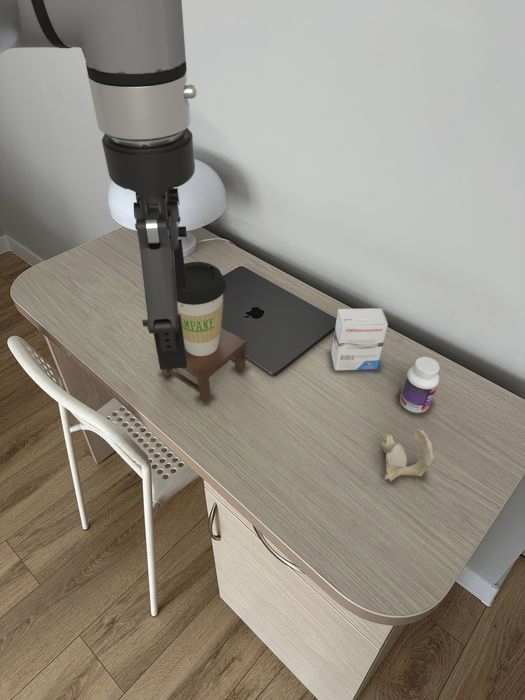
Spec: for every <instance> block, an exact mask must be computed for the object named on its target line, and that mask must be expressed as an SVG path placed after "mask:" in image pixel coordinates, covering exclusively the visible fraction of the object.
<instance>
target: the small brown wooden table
mask: <svg viewBox="0 0 525 700" xmlns="http://www.w3.org/2000/svg"><path fill="white" fill-rule="evenodd" d="M246 348H247V341H246V340H244V339H243V338H241V337H239V336H237V335H236V334H234V333H232V332H230V331H228V330H227V329H225V328H223V327H221V331H220V336H219V346H218V348H217V350H216V351H215V352H213V353H212V354H209V355H206V356H195V355H192V354H190V353H189V352H188V351H187V350H186V349H185V353H186V360H187V368H181V369H182V370H183V371H185V372H187V373H188V374H190V375H191V376H193V378H196V379H197V383H196V382H194V381H193V380H191V379H190V378H188V377H187V376H186V375H184V374H183V373H181V372H179V371H178V370H177V369H162V370H161V372H162V375H164V377H167V378H169V377H170V376H173V377H175V378H176V379H177V380H179V381H181V382H182V383H183V384H185V385H187V386H188V387H190V388H191V389H193V390H195V391H196V392H197V393H198V394H199V399H200V400H201V401H203V402H204V403H206V402H208V401H209V400H211V397H212V396H211V387H210V378H211V377H212V376H213V375H214V374H215V373H217V372H218V371H219V370H220V369H221V368H223V367H224V366H225V365H226V364H228V363H229V362H231V363H234V367H235V370H236V371H238V372H240V373H242V372H243V371H244V370H245V369H246Z"/></svg>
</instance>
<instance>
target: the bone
mask: <svg viewBox="0 0 525 700" xmlns="http://www.w3.org/2000/svg"><path fill="white" fill-rule="evenodd" d="M380 437H381V440H382V441H381V447H382V450H383V452H384V453H385V475H384V480H389V481H390V482H392V481H393V480H394V479H396V478H397V477H400V476H417V477H422V476H423V475H424V474H425V472H426V471H427V470H428V469H429V468H430V466H431V465H432V464H433V461H434V459H435V456H434V445H433V443H432V441H431V440H430V439H429V436H428V434H427V432H425V430H423V429H420V428H417V429H414V430H413V437H414V440H415V442H416V443H417V445H418V446H419V449H420V457H419V458H418V461H417V462H415V463H413V464H410V465H407V462H408V458H407V457H408V456H407V453H406V451H405V449H404V447H403V445H402V444H400V443H399V442H397V441H395V439H394V436H393V435H392V434H390V433H384V434H382V435H381V436H380Z"/></svg>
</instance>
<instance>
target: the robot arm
mask: <svg viewBox="0 0 525 700" xmlns="http://www.w3.org/2000/svg"><path fill="white" fill-rule="evenodd" d="M185 43H186V42H185V29H184V15H183V1H182V0H0V55H1V54H3V53H4V52H5V51H7V50H10V49H20V48H21V49H22V48H28V49H29V48H32V49H33V48H51V49H52V48H55V49H57V48H58V49H71V48H80V49H81V51H82V55H83V57H84V60H85V68H86V72H87V73H86V74H87V79H88V83H89V88H90V93H91V99H92V104H93V109H94V115H95V118H96V124H97V127H98V129H99V131H101V132H102V133H103V136H102V138H101V143H102V149H103V153H104V157H105V163H106V168H107V172H108V177H109V178H110V180H111V181H112V182H113V183H114V184H115V185H116V186H117V187H118V186H119V188H122V189H124V190H129V191H132V192H133V193H135V200H136V201H135V202H133V216H134V219H135V224H134V227H135V230H136V232H137V238H138V244H139V245H138V246H139V250H140V251H139V252H140V261H141V268H142V269H141V271H142V279H143V288H144V297H145V306H146V315H147V316H146V317H147V319H142V320H141V322H142V326H143V327H146V328H147V330H148V333H149V334H153V337H154V343H155V349H156V354H157V359H158V364H159V365H158V366H159V370H161V371H162V369H174V370H177V369H182V368H187V360H186V353H185V345H184V338H183V330H182V323H181V315H180V314H178V305H177V291H176V290H177V289H187V283H186V274H185V266H184V264H185V259H184V258H185V257H184V249H183V239H181V238H187V235H188V234H187V226H180V222H181V221H182V220H181V216H180V203H181V202H180V190H179V187H181V186H183V185H185V184H186V183H187V182H189V181H190V180H191V179H192V178H193V177H194V174H195V172H196V161H195V151H194V149H195V148H194V138H193V137H194V136H193V133H192V131H191V130H190V129H189V128H188V127H189V126H190V124H191V107H190V101H189V99H191V100H192V99H195V98H196V97H197V95H198V94H197V88H196V87H195V85H194V84H187V81H188V76H187V70H188V68H187V61H186V60H187V58H186V44H185ZM179 238H180V239H179Z"/></svg>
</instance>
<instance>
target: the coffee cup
mask: <svg viewBox="0 0 525 700" xmlns="http://www.w3.org/2000/svg"><path fill="white" fill-rule="evenodd" d="M184 266H185V274H186V283H187V289H177V290H176V291H177V305H178V314H180V315H181V323H182V330H183V338H184V345H185V349H186V350H187V351H188V352H189V353H190V354H192V355H195V356H206V355H209V354H212V353H213V352H215V351H216V350H217V348H218V346H219V336H220V331H221V328H222V323H223V322H222V321H223V313H224V312H223V311H224V300H225V299H224V294H225V291H226V289H227V282H226V279H225V277H224V276H223V274H222V272H221V270H220V269H219V268H218V267H217V266H216V265H214V264H212V263H209V262H204V261H191V262H184Z"/></svg>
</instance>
